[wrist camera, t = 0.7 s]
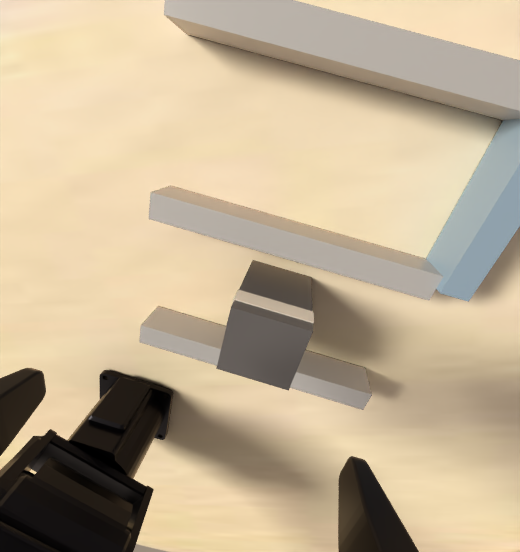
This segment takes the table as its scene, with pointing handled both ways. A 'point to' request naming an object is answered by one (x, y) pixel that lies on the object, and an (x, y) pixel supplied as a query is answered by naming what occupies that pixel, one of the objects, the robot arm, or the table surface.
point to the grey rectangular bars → (328, 245)
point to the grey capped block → (268, 325)
